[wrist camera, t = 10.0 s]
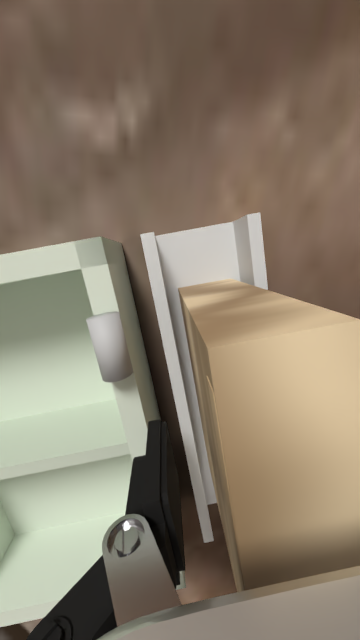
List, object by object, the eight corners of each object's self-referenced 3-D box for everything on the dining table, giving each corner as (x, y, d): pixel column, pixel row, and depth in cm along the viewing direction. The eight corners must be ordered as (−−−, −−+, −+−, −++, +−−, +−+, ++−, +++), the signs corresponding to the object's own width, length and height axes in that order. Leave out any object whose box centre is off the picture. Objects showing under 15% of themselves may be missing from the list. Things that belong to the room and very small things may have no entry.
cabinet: (240, 221, 15) (294, 196, 9) (271, 483, 19) (322, 588, 13) (-99, 283, 14) (-287, 303, 8) (11, 536, 19) (-61, 670, 13)
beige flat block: (230, 278, 15) (361, 319, 5) (253, 457, 18) (364, 702, 8) (177, 288, 15) (206, 348, 5) (208, 466, 18) (265, 724, 8)
